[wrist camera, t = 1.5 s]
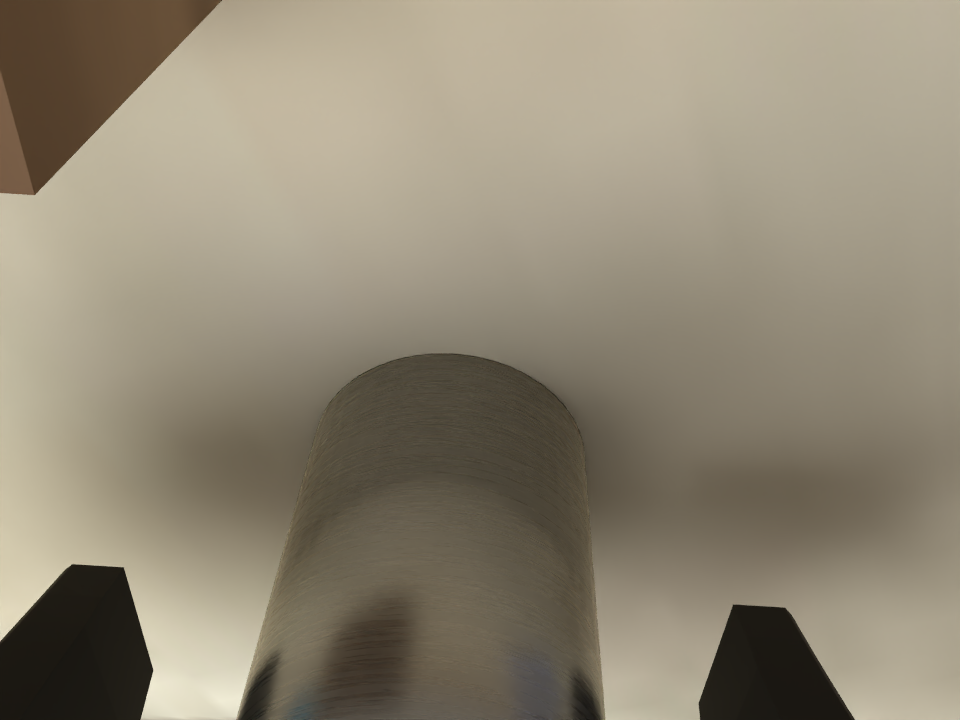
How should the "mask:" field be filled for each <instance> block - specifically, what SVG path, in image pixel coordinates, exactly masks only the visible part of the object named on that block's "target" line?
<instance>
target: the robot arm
mask: <svg viewBox="0 0 960 720" xmlns="http://www.w3.org/2000/svg"><path fill="white" fill-rule="evenodd" d="M152 673H153V668H152V664H151V661H150V657H149V654H148V650H147V647H146V643H145V640H144V636H143V633H142V629H141V626H140V622H139V619H138V615H137V612H136V609H135V605H134V602H133V598H132V595H131V591H130V588H129V584H128V581H127V577H126V574H125V570H124V567H108V566H91V565H75V564H72V565H71V566H70V567H68V568H67V569H66V570H65V571H64V572H63V573H62V574H61V575H60V576H59V577H58V578H57V579H56V581H55V582H54V583H53V584H52V585H51V586H50V587H49V588H48V589H47V590H46V592H45V593H44V594H43V595H42V596H41V597H40V598H39V599H38V600H37V602H36V603H35V604H34V605H33V606H32V607H31V608H30V609H29V610H28V612H27V613H26V614H25V615H24V616H23V617H22V618H21V619H20V620H19V622H18V623H17V624H16V625H15V626H14V627H13V628H12V629H11V630H10V631H9V632H8V634H7V635H6V636H5V637H4V638H3V639H2V640H1V641H0V720H140V719H141V715H142V712H143V708H144V704H145V700H146V696H147V692H148V689H149V685H150V681H151V677H152ZM699 711H700V720H855V719H854V718H853V716H852V714H851V713H850V711H849V710H848V708H847V706H846V705H845V703H844V702H843V700H842V698H841V697H840V695H839V694H838V692H837V691H836V689H835V687H834V686H833V684H832V682H831V681H830V679H829V677H828V676H827V674H826V672H825V671H824V669H823V668H822V666H821V664H820V663H819V661H818V659H817V658H816V656H815V654H814V652H813V651H812V649H811V647H810V646H809V644H808V642H807V641H806V639H805V637H804V636H803V634H802V632H801V630H800V629H799V627H798V625H797V624H796V622H795V620H794V618H793V617H792V615H791V614H790V613H789V612H788V611H787V609H786V608H780V607H764V606H747V605H733V607H732V610H731V613H730V616H729V618H728V621H727V624H726V627H725V630H724V633H723V636H722V638H721V641H720V644H719V647H718V650H717V653H716V656H715V658H714V661H713V664H712V667H711V670H710V673H709V676H708V678H707V681H706V684H705V687H704V690H703V693H702V696H701V698H700V701H699Z"/></svg>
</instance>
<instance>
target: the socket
mask: <svg viewBox="0 0 960 720" xmlns="http://www.w3.org/2000/svg"><path fill="white" fill-rule="evenodd" d="M221 1H222V0H0V193H11V194H27V195H35V194H36V193H37V192H38V191H39V190H40V189H41V188H42V187H43V186H44V185H45V184H46V183H47V182H48V181H49V180H50V179H51V178H52V177H53V175H54V174H55V173H56V172H57V171H58V170H59V169H60V168H61V167H62V166H63V165H64V164H65V163H66V162H67V161H68V160H69V159H70V158H71V157H72V156H73V155H74V154H75V153H76V152H77V151H78V149H79V148H80V147H81V146H82V145H83V144H84V143H85V142H86V141H87V140H88V139H89V138H90V137H91V136H92V135H93V134H94V133H95V132H96V131H97V130H98V129H99V128H100V127H101V126H102V125H103V123H104V122H105V121H106V120H107V119H108V118H109V117H110V116H111V115H112V114H113V113H114V112H115V111H116V110H117V109H118V108H119V107H120V106H121V105H122V104H123V103H124V102H125V101H126V100H127V99H128V97H129V96H130V95H131V94H132V93H133V92H134V91H135V90H136V89H137V88H138V87H139V86H140V85H141V84H142V83H143V82H144V81H145V80H146V79H147V78H148V77H149V76H150V75H151V74H152V73H153V71H154V70H155V69H156V68H157V67H158V66H159V65H160V64H161V63H162V62H163V61H164V60H165V59H166V58H167V57H168V56H169V55H170V54H171V53H172V52H173V51H174V50H175V49H176V48H177V47H178V45H179V44H180V43H181V42H182V41H183V40H184V39H185V38H186V37H187V36H188V35H189V34H190V33H191V32H192V31H193V30H194V29H195V28H196V27H197V26H198V25H199V24H200V23H201V22H202V21H203V19H204V18H205V17H206V16H207V15H208V14H209V13H210V12H211V11H212V10H213V9H214V8H215V7H216V6H217V5H218V4H219V3H220V2H221Z"/></svg>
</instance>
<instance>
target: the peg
mask: <svg viewBox="0 0 960 720" xmlns="http://www.w3.org/2000/svg"><path fill="white" fill-rule="evenodd" d="M236 720H605V709H604V696H603V684H602V671H601V658H600V646H599V633H598V620H597V608H596V595H595V583H594V570H593V557H592V545H591V532H590V519H589V507H588V494H587V482H586V469H585V457H584V447H583V442H582V439H581V435H580V432H579V429H578V427H577V425H576V423H575V421H574V419H573V417H572V416H571V415H570V413H569V412H568V410H567V409H566V407H565V406H564V405H563V404H562V403H561V402H560V401H559V400H558V398H557V397H556V396H555V395H554V394H553V393H551V392H550V391H549V390H548V389H546V388H545V387H544V386H543V385H542V384H540V383H539V382H537V381H535V380H534V379H532V378H531V377H529V376H527V375H526V374H524V373H521V372H519V371H517V370H515V369H513V368H511V367H508V366H506V365H503V364H500V363H497V362H494V361H490V360H486V359H482V358H477V357H472V356H464V355H455V354H430V355H420V356H413V357H408V358H403V359H398V360H395V361H392V362H389V363H386V364H383V365H380V366H378V367H376V368H373V369H371V370H369V371H367V372H365V373H363V374H362V375H360V376H359V377H357V378H356V379H354V380H352V381H351V382H350V383H349V384H347V385H346V386H345V387H344V388H343V389H342V390H341V391H339V392H338V394H337V395H336V396H335V397H334V398H333V400H332V401H331V402H330V403H329V405H328V406H327V408H326V410H325V411H324V413H323V415H322V417H321V420H320V423H319V425H318V428H317V431H316V435H315V439H314V442H313V446H312V449H311V453H310V456H309V460H308V464H307V467H306V471H305V474H304V478H303V482H302V485H301V489H300V492H299V496H298V500H297V503H296V507H295V510H294V514H293V518H292V521H291V525H290V528H289V532H288V535H287V539H286V543H285V546H284V550H283V553H282V557H281V561H280V564H279V568H278V571H277V575H276V579H275V582H274V586H273V589H272V593H271V596H270V600H269V604H268V607H267V611H266V614H265V618H264V622H263V625H262V629H261V632H260V636H259V640H258V643H257V647H256V650H255V654H254V658H253V661H252V665H251V668H250V672H249V675H248V679H247V683H246V686H245V690H244V693H243V697H242V701H241V704H240V708H239V711H238V715H237V719H236Z"/></svg>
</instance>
